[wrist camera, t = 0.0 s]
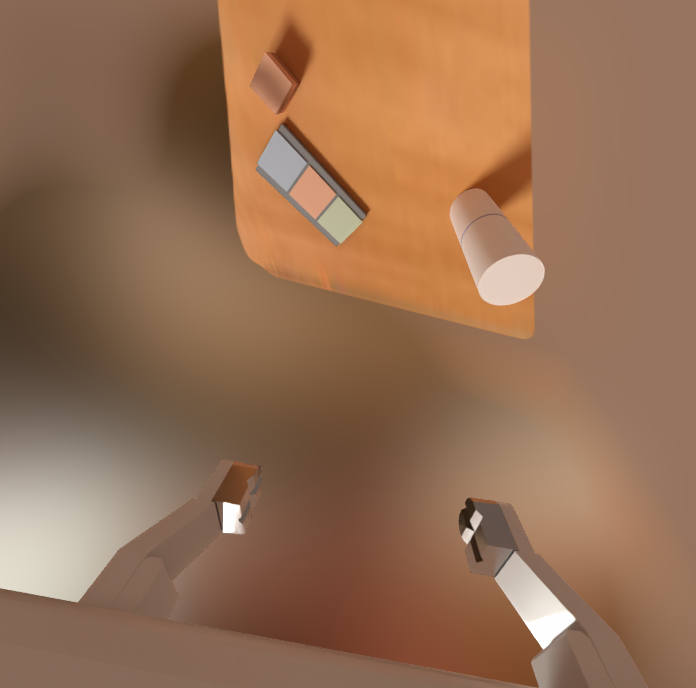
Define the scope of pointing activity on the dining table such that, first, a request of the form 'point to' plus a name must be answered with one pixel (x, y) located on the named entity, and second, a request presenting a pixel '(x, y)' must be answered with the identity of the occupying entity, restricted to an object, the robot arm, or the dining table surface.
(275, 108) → the terracotta cube
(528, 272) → the cylindrical container
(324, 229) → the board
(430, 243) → the dining table surface
